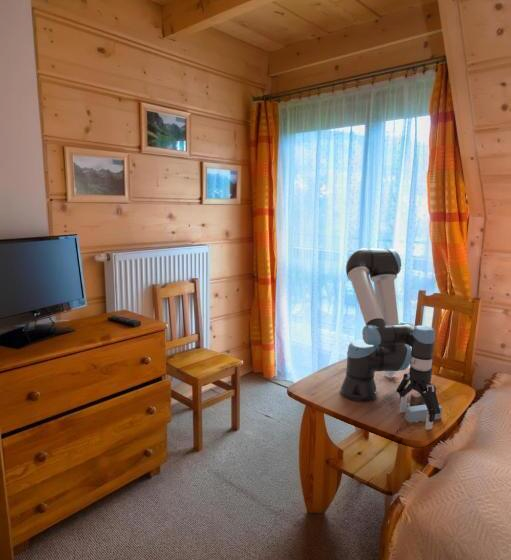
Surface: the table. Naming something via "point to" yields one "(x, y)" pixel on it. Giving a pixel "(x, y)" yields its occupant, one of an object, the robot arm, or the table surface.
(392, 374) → the cup
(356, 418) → the table surface
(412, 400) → the ridge stand
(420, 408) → the bar
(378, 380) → the table surface
